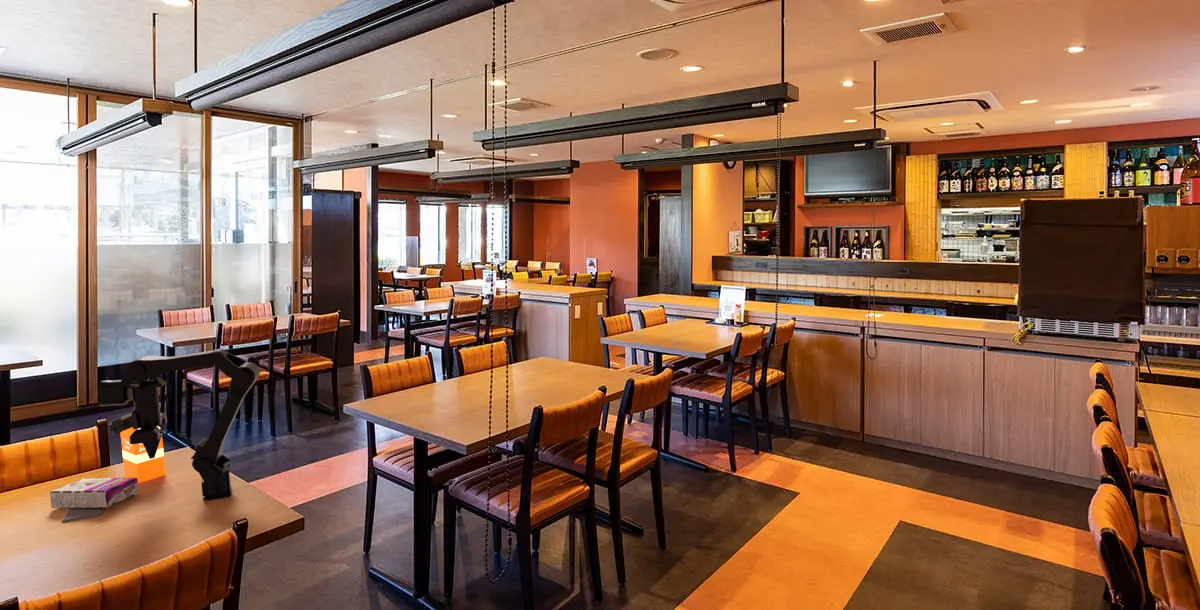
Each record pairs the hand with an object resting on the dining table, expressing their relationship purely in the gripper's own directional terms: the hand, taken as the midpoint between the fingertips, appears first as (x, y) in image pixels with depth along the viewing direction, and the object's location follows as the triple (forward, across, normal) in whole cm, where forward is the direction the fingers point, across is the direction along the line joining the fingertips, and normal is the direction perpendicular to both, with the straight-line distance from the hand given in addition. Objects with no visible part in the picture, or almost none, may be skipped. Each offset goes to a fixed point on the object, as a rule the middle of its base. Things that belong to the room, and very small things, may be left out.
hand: (152, 458), depth 182 cm
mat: (+12, 0, -16) cm, 20 cm away
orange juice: (+13, -23, -6) cm, 27 cm away
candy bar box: (+9, -2, -8) cm, 12 cm away
